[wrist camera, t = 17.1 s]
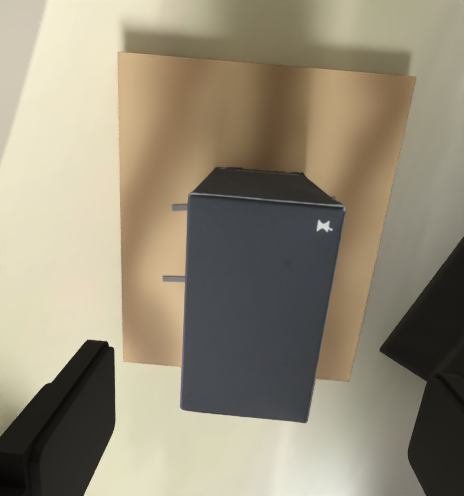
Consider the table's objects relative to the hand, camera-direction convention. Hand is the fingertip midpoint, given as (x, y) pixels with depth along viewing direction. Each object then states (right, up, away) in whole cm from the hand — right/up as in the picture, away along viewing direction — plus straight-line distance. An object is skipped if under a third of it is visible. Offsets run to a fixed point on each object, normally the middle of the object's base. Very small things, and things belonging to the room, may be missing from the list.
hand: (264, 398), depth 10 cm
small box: (0, +5, +14) cm, 15 cm away
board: (0, +6, +15) cm, 16 cm away
